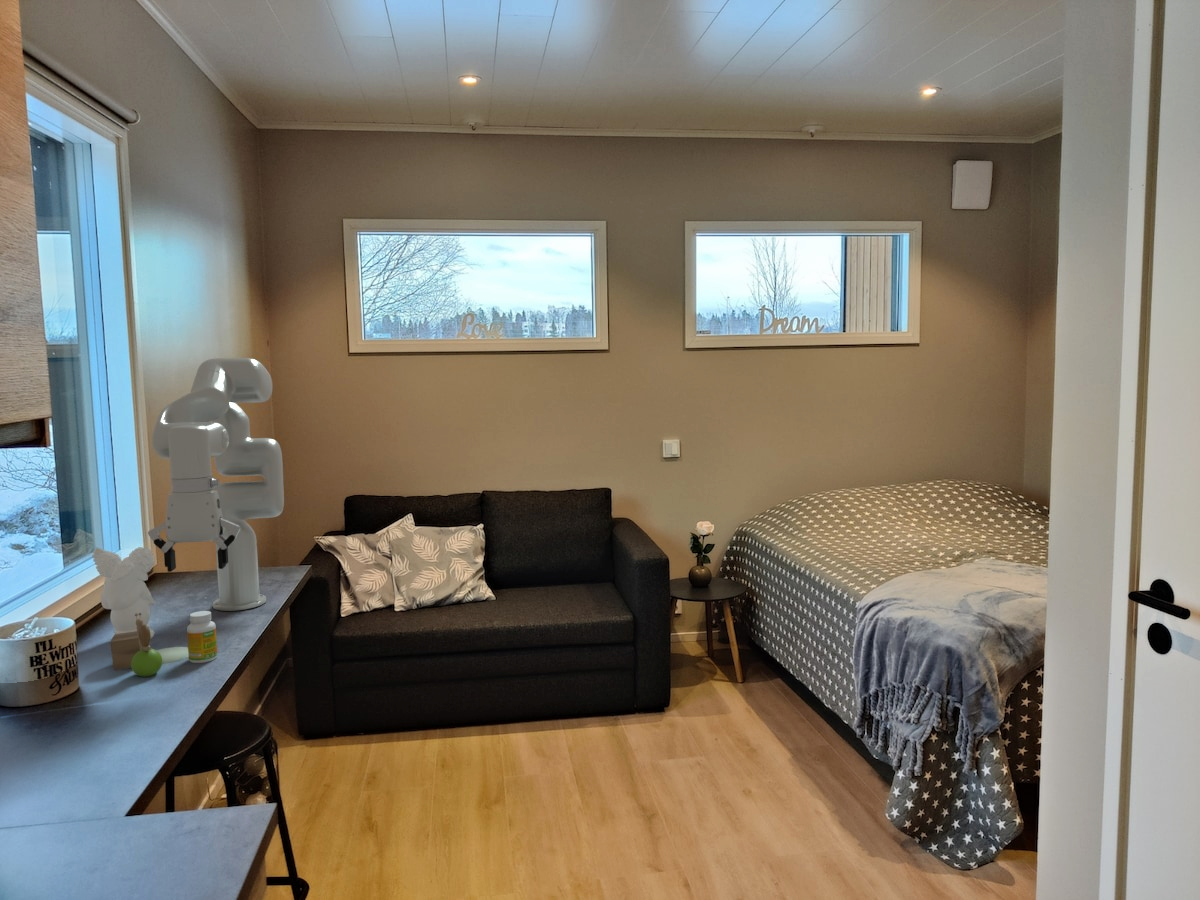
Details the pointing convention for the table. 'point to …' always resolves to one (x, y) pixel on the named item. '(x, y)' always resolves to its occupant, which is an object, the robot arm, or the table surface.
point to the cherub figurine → (126, 587)
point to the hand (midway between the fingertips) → (197, 568)
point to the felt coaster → (173, 654)
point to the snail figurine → (145, 653)
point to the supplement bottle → (201, 638)
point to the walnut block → (124, 649)
